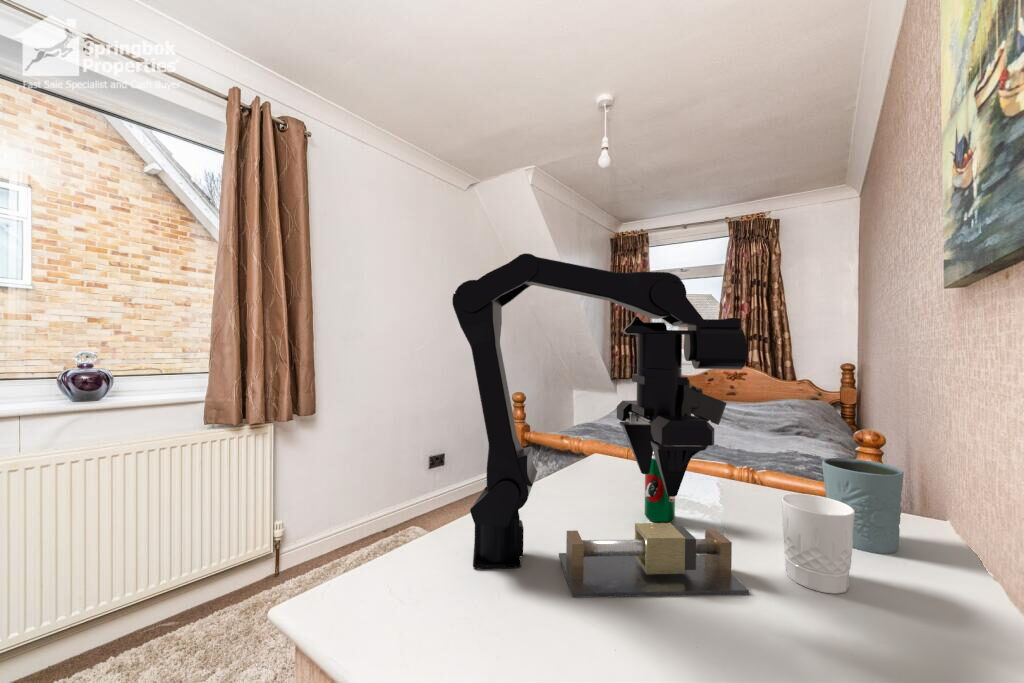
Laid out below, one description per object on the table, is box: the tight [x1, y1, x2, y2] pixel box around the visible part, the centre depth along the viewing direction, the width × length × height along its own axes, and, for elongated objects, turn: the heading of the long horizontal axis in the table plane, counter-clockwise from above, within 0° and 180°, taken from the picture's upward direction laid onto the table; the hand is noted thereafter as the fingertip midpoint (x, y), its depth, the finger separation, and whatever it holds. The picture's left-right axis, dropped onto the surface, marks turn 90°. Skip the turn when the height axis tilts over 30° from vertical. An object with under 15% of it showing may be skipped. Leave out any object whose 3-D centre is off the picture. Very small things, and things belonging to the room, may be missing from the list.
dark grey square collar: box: [673, 525, 697, 570], centre depth 58 cm, size 2×4×4 cm, turn 3°
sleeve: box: [634, 522, 685, 574], centre depth 58 cm, size 5×5×5 cm
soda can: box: [644, 452, 676, 523], centre depth 76 cm, size 5×5×12 cm
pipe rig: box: [558, 528, 750, 598], centre depth 58 cm, size 22×10×5 cm, turn 93°
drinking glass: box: [821, 457, 904, 555], centre depth 69 cm, size 10×10×12 cm
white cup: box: [781, 493, 855, 595], centre depth 57 cm, size 8×8×10 cm
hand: (657, 484), depth 58 cm, fingers open, 9 cm apart
